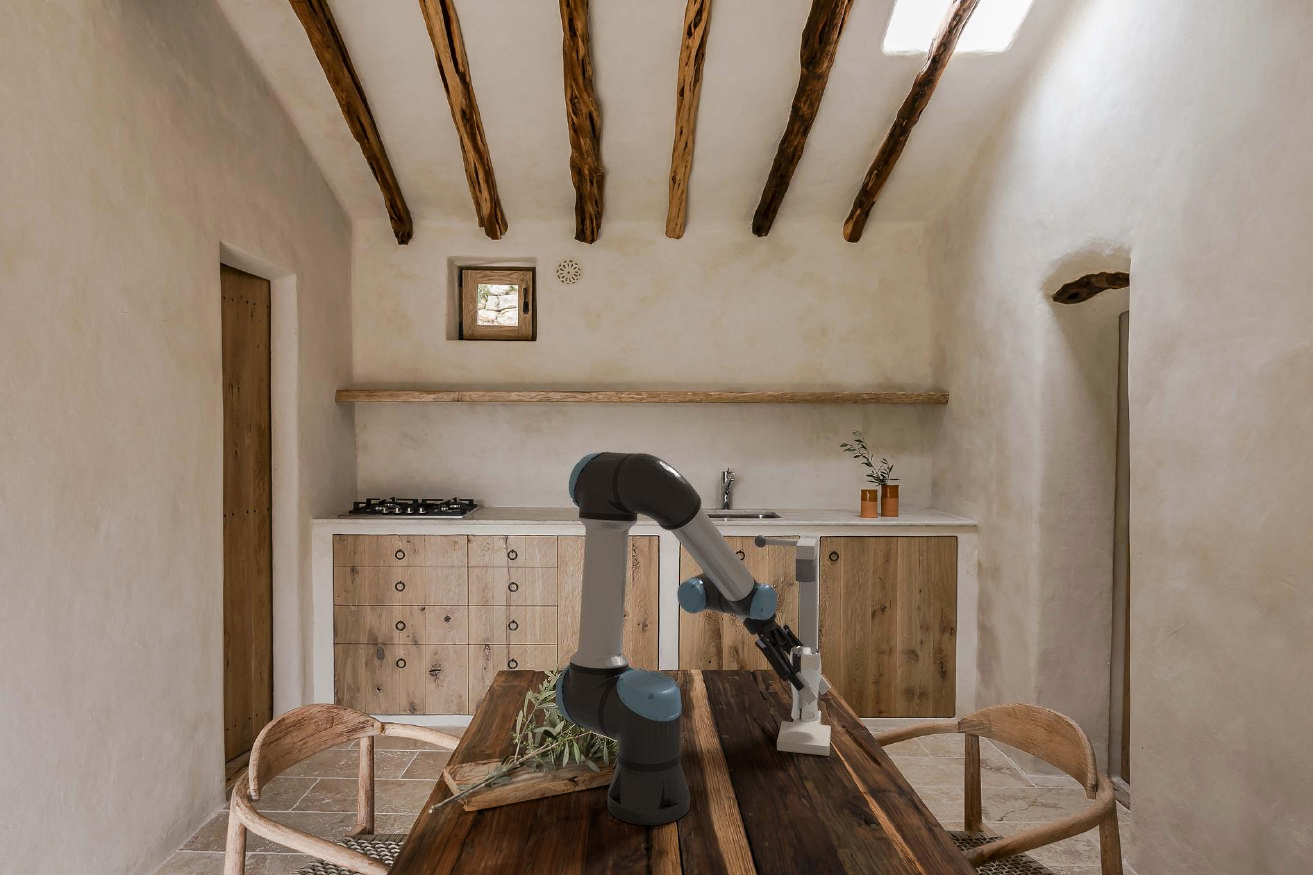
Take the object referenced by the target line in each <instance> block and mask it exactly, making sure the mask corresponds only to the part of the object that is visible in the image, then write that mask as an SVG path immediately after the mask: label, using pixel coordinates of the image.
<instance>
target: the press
mask: <svg viewBox="0 0 1313 875" xmlns="http://www.w3.org/2000/svg"><path fill="white" fill-rule="evenodd" d="M753 541H754V545H755V546H756V547H757V548H758V549H759V548H765V547H766V546H785V547H795V582H799V604H798V605H799V609H798V610H799V612H798V613H799V614H798V615H799V621H798V622H799V623H798V624H799V628H798V629H799V630H798V631H799V634H798V637H799V638H798V639H799V641H800V642H801V643H802V644H803V645H804V646H807V647H814V648H817V649H818V598H819V596H818V587H819V586H818V578H819V576H818V575H819V574H818V573H819V572H818V570H819V569H818V568H819V567H818V566H819V565H818V564H819V561H818V560H819V559H818V558H819V549H818V548H819V536H818V535H815V536H814V535H800V537H799V539H794V538H793V539H792V538H772V537H770V538H769V537H768V538H767V537H766V536H764V535H762V534H761V535H760V534H759V535H757V536H756V537H755V538H754V540H753ZM818 714H819V719H818V720H817V721H815V722H799V721H796V720H794V719H793V721H786V720H782V721H781V724H780V728H779V732H778V737H777V739H776V751H779V752H780V751H781V752H789V753H799V754H808V755H816V756H817V755H818V756H819V755H820V756H827V757H828V756H830V749H831V747H830V746H831V735H832V733H831V732H832V731H831V728H832V727H831V725H828V724H827V725H825V724H821V722H822V711H821V710H818Z"/></svg>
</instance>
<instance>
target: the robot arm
mask: <svg viewBox="0 0 1313 875" xmlns="http://www.w3.org/2000/svg"><path fill="white" fill-rule="evenodd" d="M568 480H569V481H568V493H569V497H570V499H572V502H573V504H574V505H575V506H576V507H577V508H578V520H579V521H580V522H581V524H582V525H583V526H584V527H585V532H584V533H585V536H584V549H583V550H584V551H583V552H584V553H583V569H582V583H581V598H580V616H579V630H578V631H579V633H578V648H577V650H576V652H574V653H573V654H572V655H570V658H569V664H568V665H566V666H565V668H563V669H562V671H561V675H560V676H559V677H558V679H557V680H556V686H555V702H556V706H557V708H558V710H559V712H560V714H561V716H563V718H564V719H565V720H566V721H568V722H569V723H571V724H574V725H575V726H577V727H578V728H580V729H583V730H588V731H591V732H594V733H596V734H599V735H603V736H605V737H607V738H610V739H613V740H616V742H617V746H616V747H617V752H616V753H617V758H616V760H617V762H616V766H615V769H614V773H613V775H612V778H611V782H610V784H609V788H608V791H607V809H608V811H609V813H610V814H611V815H612V816H613V817H615V818H616V819H618V820H619V821H620V820H621V821H622V822H626V823H627V824H628V823H629V824H632V825H633V824H634V825H640V826H657V825H664V824H669V823H672V822H675V821H677V820H679V819H680V818H682V817H684V816H685V815H686V814H687V813H688V812H689V810H690V807H691V804H690V802H691V800H690V799H691V798H690V797H691V794H690V789H689V786H688V783H687V780H686V776H685V772H684V770H683V767H682V763H681V751H682V750H681V744H682V743H681V742H682V740H681V739H682V735H681V734H682V709H683V707H682V700H681V698H682V697H681V690H680V686H679V684H678V683H677V682H676V680H675V679H673V677H671V676H669V675H667V674H665V673H663V672H660V671H657V670H646V669H634V670H630V671H628V667H630V666H629V664H630V659H629V658H628V657H627V656H626V655H625V653H624V652H623V640H624V639H623V636H624V619H625V617H624V616H625V605H626V604H625V602H626V587H627V585H626V584H627V568H628V552H629V533H630V530H631V528H632V527H633V526H635V525H636V524H637V523H638V515H642V516H645V517H648V518H650V519H653V521H655V522H656V523H657V524H658V525H659V527H661V528H662V530H665V531H670V532H671V533H672V534H673V535H674V536H675V538H676V539H677V541H678V542H679V543H680V544H681V545H682V547H683V548H684V549H685V551H687V553H688V554H689V555H690V556H691V558H692V559H693V560H694V561H695V562H696V564H697V565H698V566H699V567H700V569H701V570H702V573H700V574H697V575H695V576H690V577H689V578H688V579H686V580H685V581H683V582H682V583H680V585H679V586H678V588H677V601H678V603H679V606H680V607H681V608H682V609H683V610H684V611H685V612H686V613H688V614H693V615H694V614H697V613H701V612H704V610H708V611H713V612H717V613H724V614H730V615H734V616H736V617H737V618H738V619H739V620H740V621H743V623H742V625H743V626H744V627H745V629H746V630H747V631H748V632H749V634H750V635H751V636H756V635H757V637H758V639H756V641H755V642H754V645H755V646H756V647H757V649H759V650H760V652H762V654H763V656H764V657H765V659H766V660H767V662H769V663H768V664H770V666H771V667H772V668H773V670H774V672H775V673H776V674H777V676H778V678H779V679H781V680H782V681H783V682H785V683H786V682H788V681H789V682H790V684H791V683H792V684H793V686H794V687H795V688H796V689H797V691H798V692H799V693H800V695H801V696H802V697H803V698H804V700H805V701H806V702H807V704H808V705H810V704H811V703H812V702H813V701H814V700H816V699H817V698H819V695H818V696H817V695H816V693H815V692H814V691H813V690H812V688H811V687H810V686H809V685H808V683H807V682H806V681H805V679H804V678H803V677H802V676H801V675H800V674H799V672H798V673H797V674H796V672H795V670H794V668H793V666H792V664H791V662H790V658H789V657H788V656H790V653H791V648H793V647H798V646H804V645H803V644H802V643H801V642H800V641H799V638H798V637H797V636H796V635H795V634H794V632H792V630H791V628H790V627H789V625H788V624H784V625H783V626H781V625H780V624H778V623H777V622H776V620H775V619H777V616H778V615H777V613H776V612H775V611H776V610H777V606H778V595H777V591H776V589H775V587H773V586H772V585H769V584H765V583H764V582H761V583H760V582H758V581H757V580H756V579H755V577H754V576H753V574H752V573H751V572H750V570H749V569H748V568H747V566H746V565H745V563H744V562H743V561H742V560H741V557H739V556H738V554H737V553H736V552H735V550H734V549H733V548H732V546H731V545H730V543H729V542H728V541H727V539H726V538H725V537H724V535H723V534H722V533H721V531H720V530H719V529H718V527H717V525H715V523H714V522H713V521H712V519H711V518H710V517H709V516H708V514H707V512H706V511H705V510H704V508H703V507H702V504H703V503H702V498H701V496H700V495H699V493H698V492H697V491H696V489H695V488H694V487H693V485H692V484H691V482H689V481H688V480H687V479H686V478H685V477H684V476H683V474H681V473H680V472H679V471H678V470H677V469H675V467H673V466H672V465H670V463H667V462H666V461H665V460H663V459H662V458H659V457H658V456H656V455H653V454H649V453H644V452H638V453H633V452H628V453H627V452H610V451H601V452H593V453H589V454H586V455H585V456H583V457H582V458H581V459H580V460H579V461H578V462H577V463H576V464H575V465H574V467H573V469H572V471H571V472H570V476H569V479H568ZM831 688H832V686H831V685H830V683H829V682H828V681H827V680H826V679H825V678H824V676H823V675H822V674H821V681H820V687H819V692H818V693H820V695H821V696H823V695H824V694H825V693H827V692H828V691H829V690H830V689H831ZM817 700H818V699H817Z"/></svg>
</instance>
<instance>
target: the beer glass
mask: <svg viewBox="0 0 1313 875" xmlns="http://www.w3.org/2000/svg"><path fill="white" fill-rule="evenodd" d="M789 661H790V662H791V664H792V666H793V668H794V670H795V672H796V674H797V673H798V672H799V674H800V675H801V676H802V677H803V678H804V679H805V681H806V682H807V683H808V685H809V686H810V687H811V688H812V690H813V691H814V692H815V693H816V695H817V696H818V698H819V693H820V692H819V687H820V681H821V675H822V657H821V650H820V649H819V648H818V647H817V648H814V647H807V646H798V647H793V648H791V653H790V655H789ZM790 687H791V692H792V709H791V718H792V719H793V720H796V721H799V722H815V721H817V720H818V719H819V714H818V711H819V708H818V698H817V699H816V700H814V701H813V702H812V703H811V704H810V705H808V704H807V702H806V701H805V700H804V698H803V697H802V696H801V695H800V693H799V692H798V691H797V689H796V688H795V687H794V686H793V684H792V683H791V682H790Z"/></svg>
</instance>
